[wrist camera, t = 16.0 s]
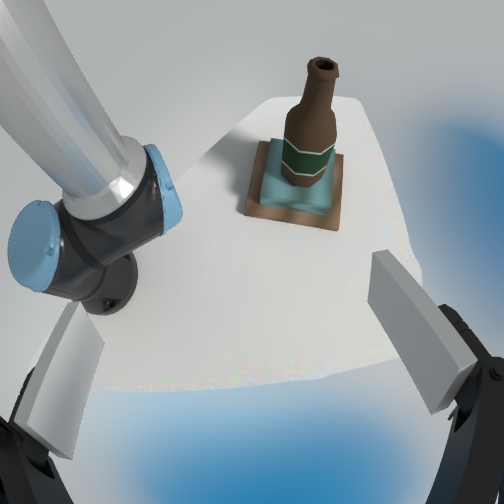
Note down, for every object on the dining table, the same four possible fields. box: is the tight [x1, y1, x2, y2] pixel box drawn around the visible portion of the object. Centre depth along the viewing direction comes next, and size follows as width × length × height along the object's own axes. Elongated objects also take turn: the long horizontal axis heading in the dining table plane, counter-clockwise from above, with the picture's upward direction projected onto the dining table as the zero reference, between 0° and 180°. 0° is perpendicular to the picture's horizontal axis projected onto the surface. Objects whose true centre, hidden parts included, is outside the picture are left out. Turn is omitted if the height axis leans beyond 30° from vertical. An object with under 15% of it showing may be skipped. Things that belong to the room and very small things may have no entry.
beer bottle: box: [281, 57, 339, 188], centre depth 38 cm, size 8×8×24 cm
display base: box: [244, 138, 344, 231], centre depth 52 cm, size 17×16×6 cm
